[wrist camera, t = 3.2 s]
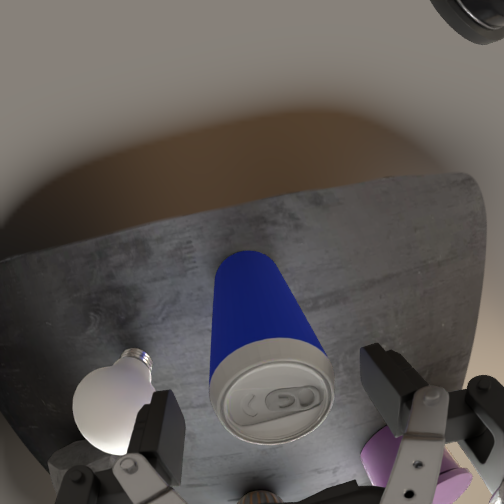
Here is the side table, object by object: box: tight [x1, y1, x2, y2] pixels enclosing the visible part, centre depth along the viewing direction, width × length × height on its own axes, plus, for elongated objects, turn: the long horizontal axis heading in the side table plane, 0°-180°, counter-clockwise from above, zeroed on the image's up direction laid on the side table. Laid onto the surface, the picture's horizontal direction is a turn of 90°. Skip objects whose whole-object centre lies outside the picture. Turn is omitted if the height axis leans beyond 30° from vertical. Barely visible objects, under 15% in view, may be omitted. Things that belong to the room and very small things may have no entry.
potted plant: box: [48, 439, 122, 495], centre depth 25 cm, size 12×13×15 cm
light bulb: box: [73, 347, 156, 455], centre depth 21 cm, size 7×7×11 cm
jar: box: [361, 425, 472, 504], centre depth 27 cm, size 11×11×12 cm
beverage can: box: [209, 251, 335, 445], centre depth 18 cm, size 5×5×15 cm
